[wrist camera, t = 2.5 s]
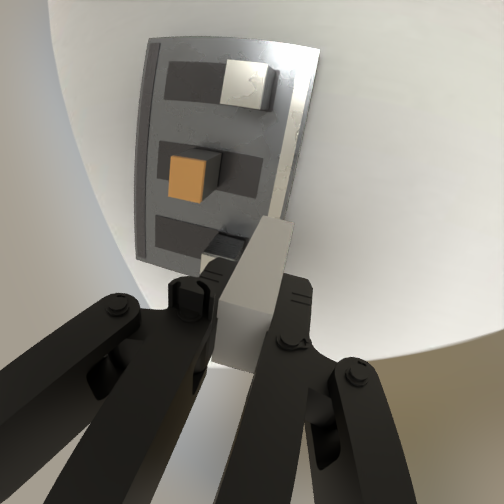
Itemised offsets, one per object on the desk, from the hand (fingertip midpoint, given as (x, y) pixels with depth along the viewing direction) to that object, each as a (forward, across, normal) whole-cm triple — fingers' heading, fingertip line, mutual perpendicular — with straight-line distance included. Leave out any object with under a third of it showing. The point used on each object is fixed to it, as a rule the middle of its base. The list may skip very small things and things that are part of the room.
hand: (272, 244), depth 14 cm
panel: (+11, -7, +1) cm, 13 cm away
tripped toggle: (+9, -7, +1) cm, 12 cm away
